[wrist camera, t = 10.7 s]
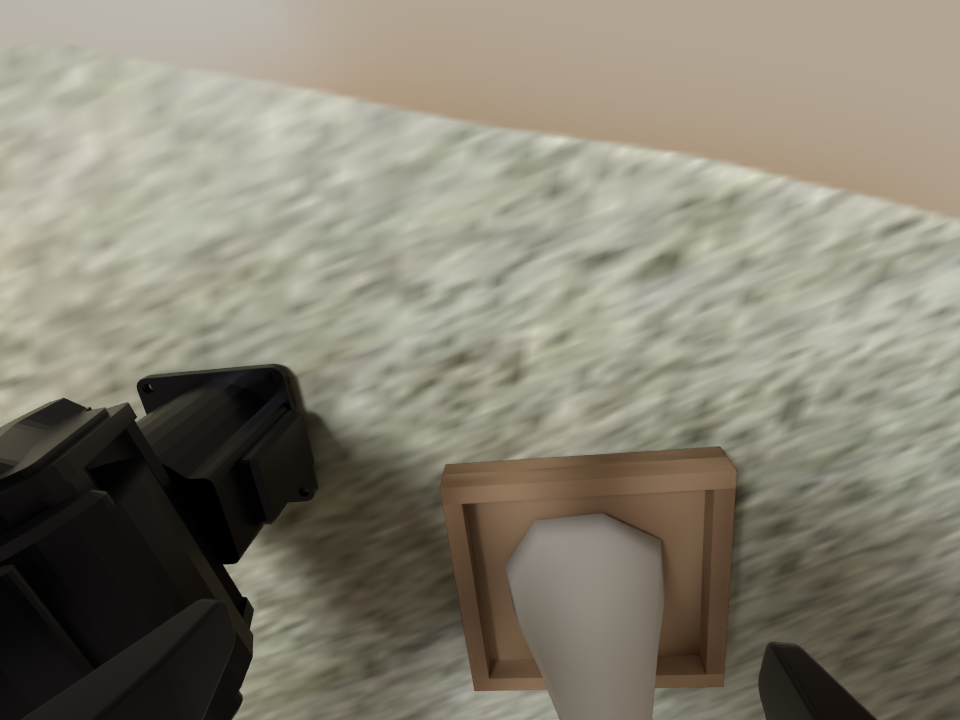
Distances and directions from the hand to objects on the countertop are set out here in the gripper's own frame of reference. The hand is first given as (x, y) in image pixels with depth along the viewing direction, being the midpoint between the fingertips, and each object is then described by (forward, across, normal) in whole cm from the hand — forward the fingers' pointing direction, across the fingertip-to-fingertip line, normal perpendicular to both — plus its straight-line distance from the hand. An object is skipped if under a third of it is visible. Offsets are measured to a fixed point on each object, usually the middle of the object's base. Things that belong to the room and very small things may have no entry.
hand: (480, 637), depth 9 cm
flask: (+12, -3, +10) cm, 16 cm away
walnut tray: (+13, -3, +10) cm, 17 cm away
